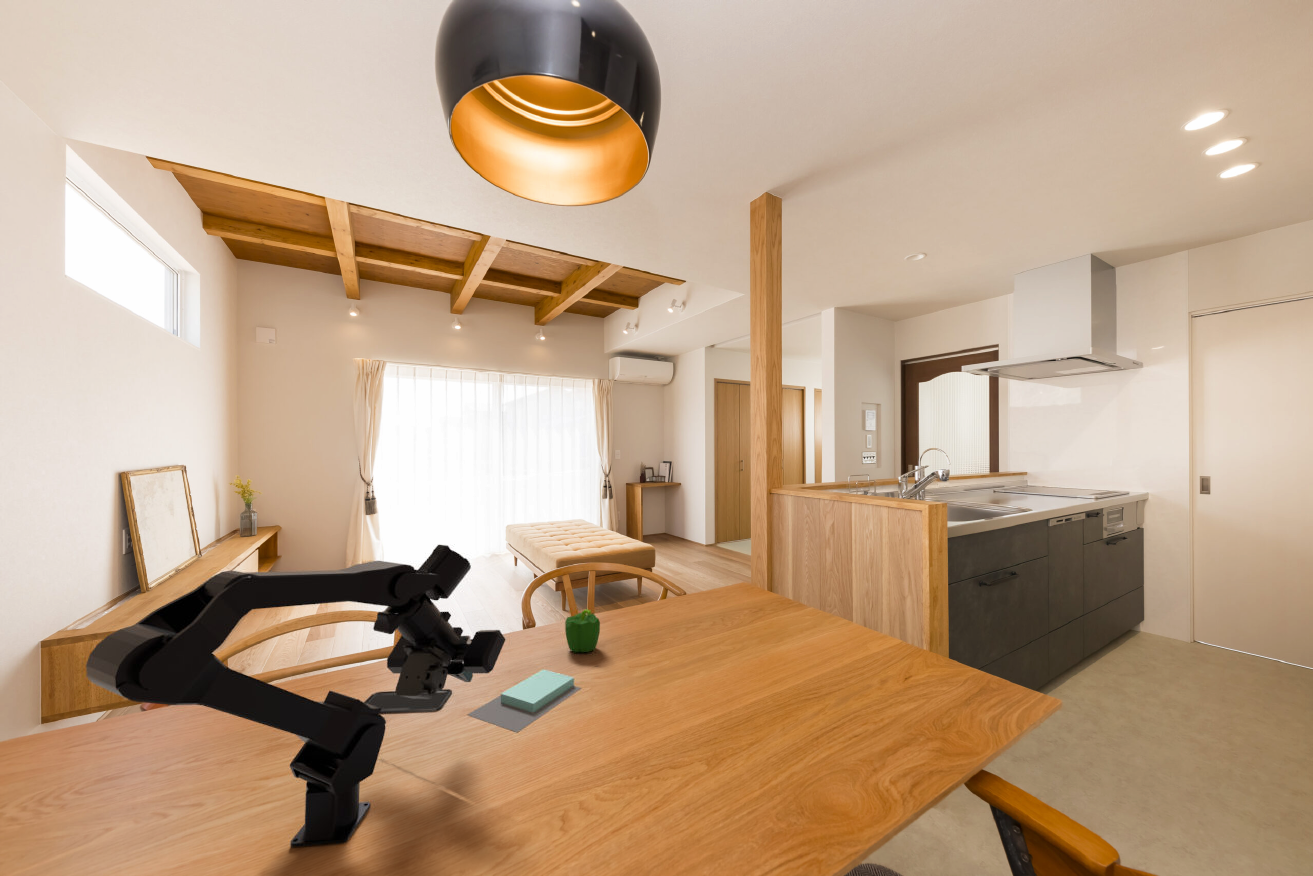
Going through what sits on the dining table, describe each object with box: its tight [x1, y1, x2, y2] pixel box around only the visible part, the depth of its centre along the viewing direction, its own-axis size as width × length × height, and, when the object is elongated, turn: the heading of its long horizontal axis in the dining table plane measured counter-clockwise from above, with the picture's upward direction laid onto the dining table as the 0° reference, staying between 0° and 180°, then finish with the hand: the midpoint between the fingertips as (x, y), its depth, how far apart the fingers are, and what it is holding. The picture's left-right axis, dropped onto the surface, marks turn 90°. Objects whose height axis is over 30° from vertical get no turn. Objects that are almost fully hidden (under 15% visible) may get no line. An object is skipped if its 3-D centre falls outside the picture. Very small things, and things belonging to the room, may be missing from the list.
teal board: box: [500, 668, 575, 713], centre depth 96 cm, size 2×8×12 cm
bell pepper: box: [564, 608, 601, 653], centre depth 119 cm, size 8×8×10 cm
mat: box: [466, 685, 582, 734], centre depth 93 cm, size 18×12×1 cm, turn 152°
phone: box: [363, 688, 453, 715], centre depth 92 cm, size 8×1×15 cm
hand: (469, 679), depth 83 cm, fingers closed
